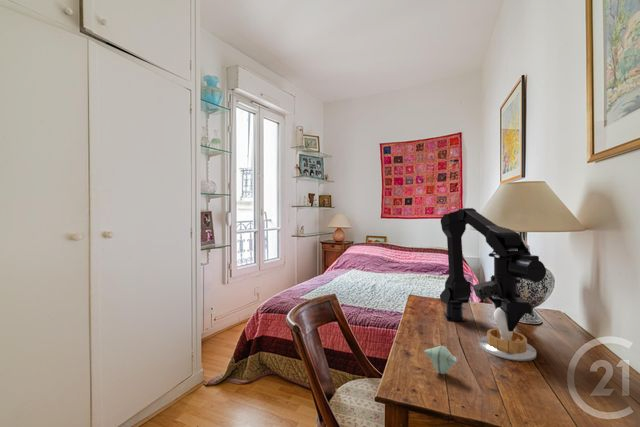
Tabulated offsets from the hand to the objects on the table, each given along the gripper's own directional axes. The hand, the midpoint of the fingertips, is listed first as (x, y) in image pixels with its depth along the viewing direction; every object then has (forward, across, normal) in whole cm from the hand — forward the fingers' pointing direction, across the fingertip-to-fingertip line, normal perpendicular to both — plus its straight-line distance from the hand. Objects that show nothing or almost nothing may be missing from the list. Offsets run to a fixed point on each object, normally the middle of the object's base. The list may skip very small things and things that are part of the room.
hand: (505, 326), depth 84 cm
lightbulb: (+5, 0, 0) cm, 5 cm away
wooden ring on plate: (+6, 0, 0) cm, 6 cm away
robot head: (+7, +17, -21) cm, 28 cm away
